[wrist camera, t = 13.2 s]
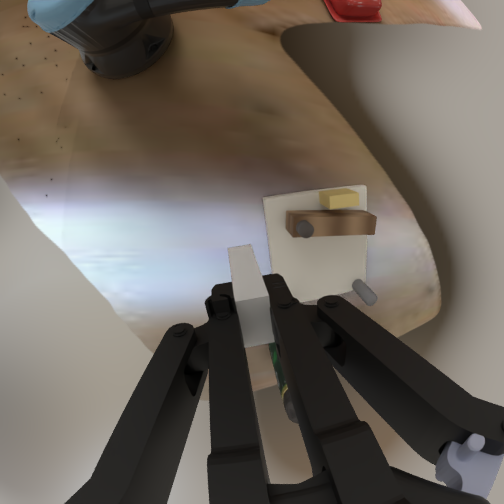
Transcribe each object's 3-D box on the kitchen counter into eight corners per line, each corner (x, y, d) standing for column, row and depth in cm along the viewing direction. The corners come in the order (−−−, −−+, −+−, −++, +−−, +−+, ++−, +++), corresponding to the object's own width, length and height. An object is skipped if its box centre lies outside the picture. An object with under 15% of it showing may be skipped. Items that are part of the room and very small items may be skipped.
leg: (285, 228, 44) (296, 241, 38) (286, 210, 43) (296, 220, 37) (361, 226, 45) (379, 237, 40) (363, 210, 44) (382, 219, 39)
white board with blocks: (262, 197, 43) (271, 206, 36) (362, 184, 44) (385, 192, 37) (275, 303, 51) (284, 326, 44) (361, 284, 52) (379, 303, 45)
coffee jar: (264, 332, 53) (283, 405, 36) (302, 322, 53) (334, 389, 36) (272, 364, 57) (291, 432, 40) (307, 354, 57) (334, 419, 40)
